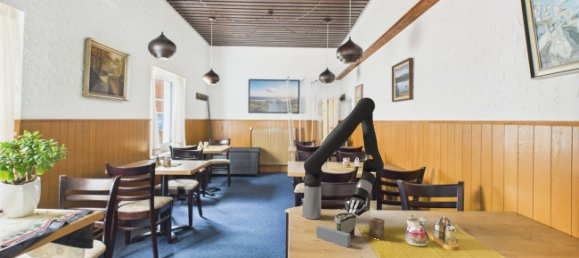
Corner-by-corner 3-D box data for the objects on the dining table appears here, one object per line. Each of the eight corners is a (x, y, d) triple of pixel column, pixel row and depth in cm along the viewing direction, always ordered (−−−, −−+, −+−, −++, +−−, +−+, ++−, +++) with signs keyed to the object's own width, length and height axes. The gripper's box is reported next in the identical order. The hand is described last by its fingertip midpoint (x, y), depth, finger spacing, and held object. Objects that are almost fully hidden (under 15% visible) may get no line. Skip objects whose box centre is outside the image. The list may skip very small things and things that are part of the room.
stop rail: (316, 237, 134) (316, 226, 134) (319, 235, 136) (319, 225, 136) (347, 247, 124) (347, 235, 123) (350, 245, 125) (350, 234, 125)
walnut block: (368, 237, 135) (369, 219, 134) (374, 234, 138) (374, 217, 138) (379, 240, 131) (379, 222, 131) (384, 237, 135) (384, 219, 135)
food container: (345, 231, 142) (345, 210, 141) (356, 235, 137) (356, 213, 137) (328, 238, 133) (328, 216, 133) (339, 242, 129) (339, 219, 129)
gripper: (348, 184, 151) (334, 214, 142) (372, 188, 142) (359, 220, 133) (353, 193, 155) (340, 222, 146) (377, 197, 146) (364, 228, 137)
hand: (349, 221), depth 140 cm, fingers closed
